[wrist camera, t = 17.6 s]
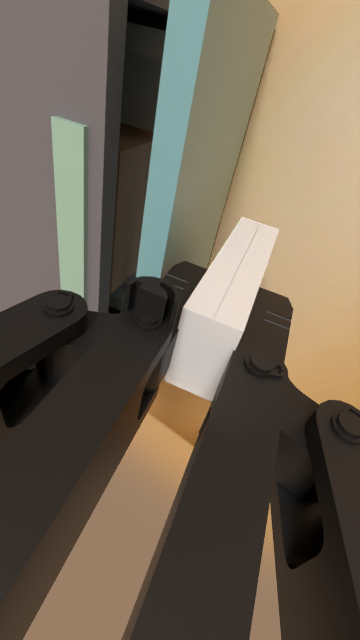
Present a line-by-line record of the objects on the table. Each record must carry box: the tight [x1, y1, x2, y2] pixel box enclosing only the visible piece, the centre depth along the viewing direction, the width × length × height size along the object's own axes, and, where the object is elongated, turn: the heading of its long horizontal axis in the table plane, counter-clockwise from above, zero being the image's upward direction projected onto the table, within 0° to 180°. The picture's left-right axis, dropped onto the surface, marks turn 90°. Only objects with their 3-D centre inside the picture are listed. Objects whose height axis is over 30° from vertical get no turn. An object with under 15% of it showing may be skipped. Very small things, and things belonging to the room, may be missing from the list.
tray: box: [109, 0, 279, 311], centre depth 15 cm, size 16×15×8 cm
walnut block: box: [110, 122, 154, 294], centre depth 15 cm, size 7×6×4 cm
